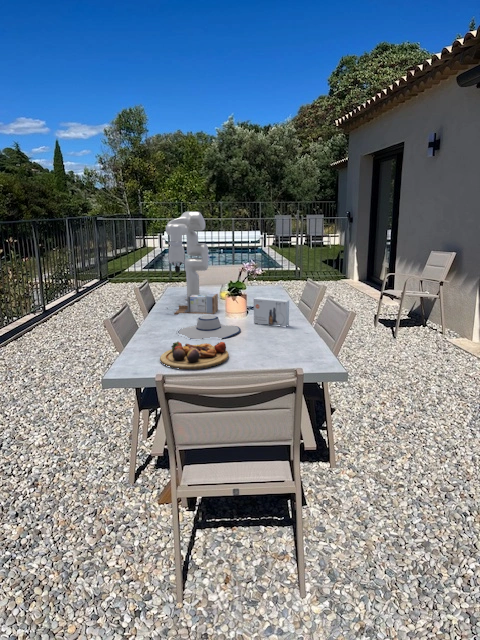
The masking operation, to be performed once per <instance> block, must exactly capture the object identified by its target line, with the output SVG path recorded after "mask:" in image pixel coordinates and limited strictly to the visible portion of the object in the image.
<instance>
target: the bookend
mask: <svg viewBox="0 0 480 640" xmlns="http://www.w3.org/2000/svg"><path fill="white" fill-rule="evenodd" d="M190 296H191V295H190ZM190 296H189V297H187V296H186V297H187V300H186V301H187V306H188V309H186V310H185V311H184V312H190Z"/></svg>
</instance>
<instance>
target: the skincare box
mask: <svg viewBox="0 0 480 640" xmlns="http://www.w3.org/2000/svg"><path fill="white" fill-rule="evenodd" d="M254 323H258V324H257V325H261V324H269V325H280V326H287V325H289V326H290V299H283V298H272V297H261V296H256V297H254V298H253V324H254ZM269 325H268V326H269Z"/></svg>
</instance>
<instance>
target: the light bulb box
mask: <svg viewBox="0 0 480 640" xmlns="http://www.w3.org/2000/svg"><path fill="white" fill-rule="evenodd" d="M207 295H208V294H200V295H191V296H190V312H201V313H206V296H207Z"/></svg>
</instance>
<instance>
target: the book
mask: <svg viewBox="0 0 480 640" xmlns="http://www.w3.org/2000/svg"><path fill="white" fill-rule="evenodd" d="M215 294H216V293H208V294H206V295H207V296H206V313H213V311H212V297H213V296H214V295H215Z"/></svg>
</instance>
